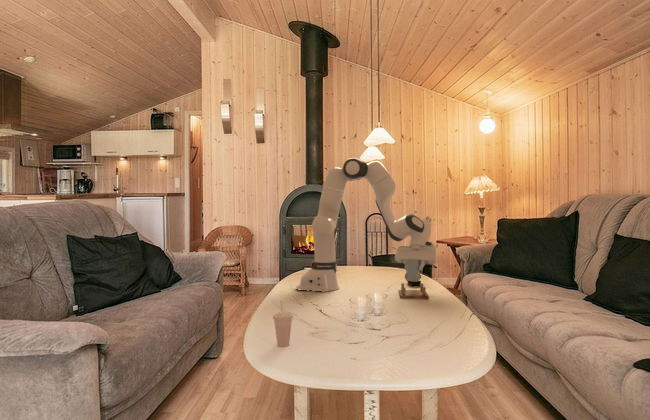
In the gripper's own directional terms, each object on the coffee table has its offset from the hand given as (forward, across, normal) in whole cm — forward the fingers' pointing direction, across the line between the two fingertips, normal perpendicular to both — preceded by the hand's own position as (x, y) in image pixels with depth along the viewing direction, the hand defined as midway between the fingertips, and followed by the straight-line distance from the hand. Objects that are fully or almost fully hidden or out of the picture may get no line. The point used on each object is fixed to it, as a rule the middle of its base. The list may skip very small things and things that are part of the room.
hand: (412, 269), depth 201 cm
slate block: (+3, 0, +4) cm, 5 cm away
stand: (+8, 0, +9) cm, 13 cm away
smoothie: (+69, -16, -52) cm, 88 cm away
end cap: (-8, -8, +27) cm, 29 cm away
